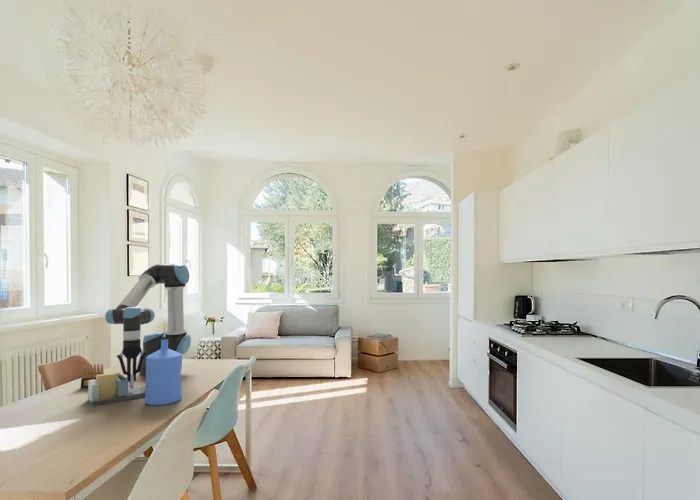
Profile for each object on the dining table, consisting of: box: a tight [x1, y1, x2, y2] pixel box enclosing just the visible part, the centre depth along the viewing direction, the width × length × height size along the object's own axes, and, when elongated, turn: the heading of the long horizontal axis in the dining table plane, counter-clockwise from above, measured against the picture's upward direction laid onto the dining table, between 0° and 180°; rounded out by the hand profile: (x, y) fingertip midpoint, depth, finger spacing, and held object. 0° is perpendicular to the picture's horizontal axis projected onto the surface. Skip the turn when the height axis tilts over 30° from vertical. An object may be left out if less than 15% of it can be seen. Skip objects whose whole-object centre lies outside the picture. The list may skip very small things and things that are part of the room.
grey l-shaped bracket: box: [87, 379, 146, 407], centre depth 199 cm, size 26×12×9 cm, turn 129°
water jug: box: [144, 340, 183, 406], centre depth 194 cm, size 16×16×28 cm
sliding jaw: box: [116, 372, 129, 397], centre depth 198 cm, size 4×12×8 cm, turn 40°
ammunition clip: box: [80, 363, 105, 389], centre depth 217 cm, size 11×2×12 cm, turn 98°
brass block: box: [96, 372, 118, 398], centre depth 195 cm, size 8×4×10 cm, turn 129°
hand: (131, 388), depth 201 cm, fingers closed
